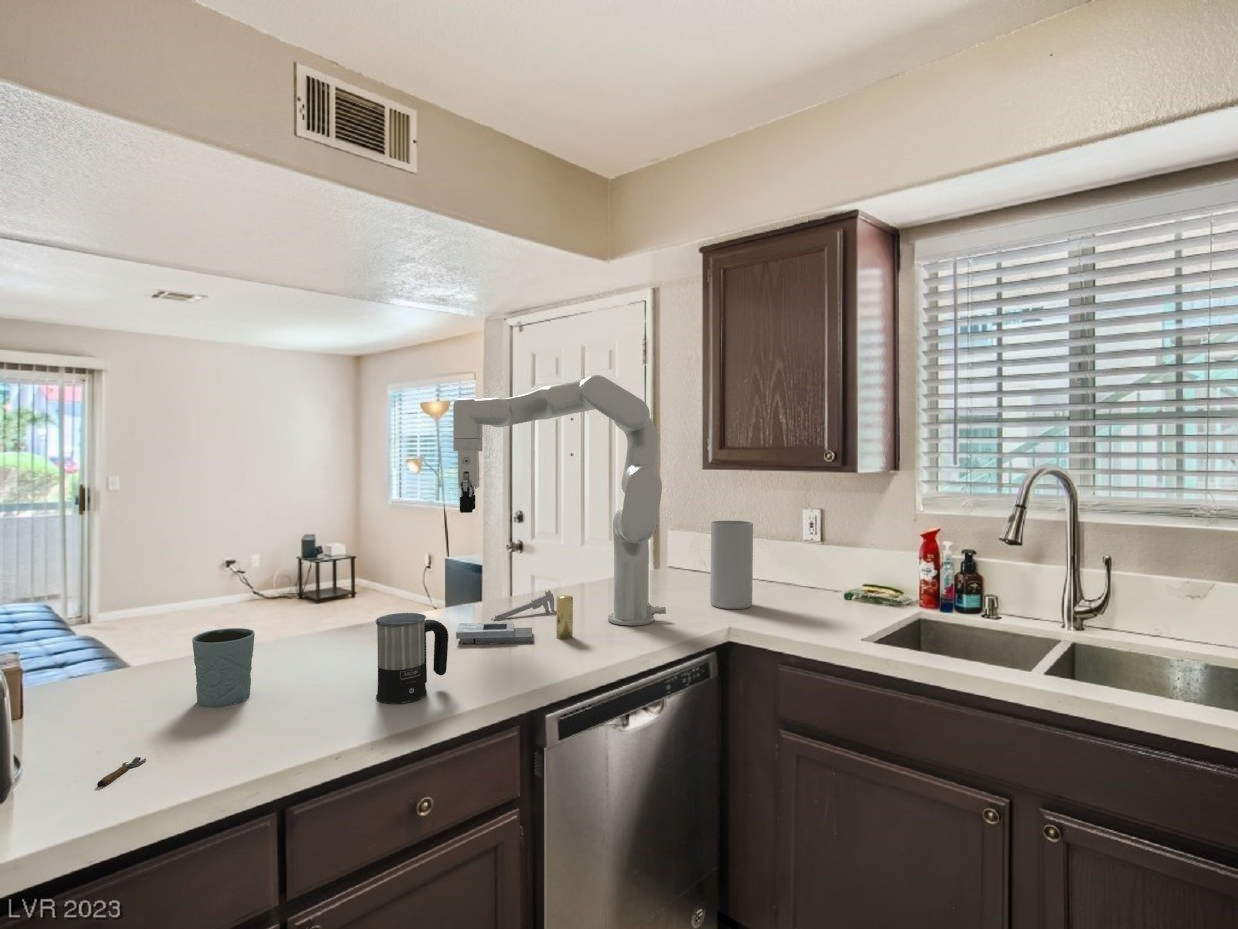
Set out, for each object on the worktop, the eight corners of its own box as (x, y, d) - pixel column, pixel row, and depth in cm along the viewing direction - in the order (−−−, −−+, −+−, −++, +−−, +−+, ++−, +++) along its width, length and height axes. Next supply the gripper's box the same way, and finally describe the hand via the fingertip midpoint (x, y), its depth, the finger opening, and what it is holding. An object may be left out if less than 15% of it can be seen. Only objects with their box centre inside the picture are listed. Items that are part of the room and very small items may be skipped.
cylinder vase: (755, 610, 209) (756, 524, 208) (712, 609, 209) (713, 524, 208) (748, 601, 221) (749, 520, 221) (708, 600, 221) (708, 520, 221)
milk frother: (398, 708, 128) (398, 626, 128) (341, 692, 136) (341, 614, 136) (455, 686, 140) (456, 611, 140) (400, 673, 148) (400, 601, 148)
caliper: (552, 610, 208) (552, 589, 208) (554, 611, 207) (554, 589, 207) (490, 621, 194) (490, 598, 194) (493, 622, 194) (493, 599, 194)
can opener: (104, 789, 97) (104, 780, 97) (87, 788, 98) (87, 780, 98) (151, 761, 106) (151, 753, 106) (136, 760, 107) (136, 753, 107)
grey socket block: (531, 633, 181) (531, 621, 181) (532, 642, 172) (532, 630, 172) (459, 635, 178) (459, 623, 178) (456, 645, 169) (456, 632, 169)
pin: (572, 634, 180) (572, 595, 179) (573, 639, 176) (573, 598, 175) (556, 635, 179) (556, 595, 179) (556, 639, 175) (557, 598, 175)
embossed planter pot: (241, 686, 139) (240, 625, 139) (264, 698, 133) (264, 634, 132) (183, 700, 131) (183, 635, 131) (205, 713, 125) (205, 645, 125)
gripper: (480, 445, 179) (480, 513, 179) (484, 446, 196) (484, 508, 197) (449, 445, 178) (449, 514, 178) (456, 445, 195) (456, 508, 196)
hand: (467, 510), depth 187 cm, fingers open, 9 cm apart
